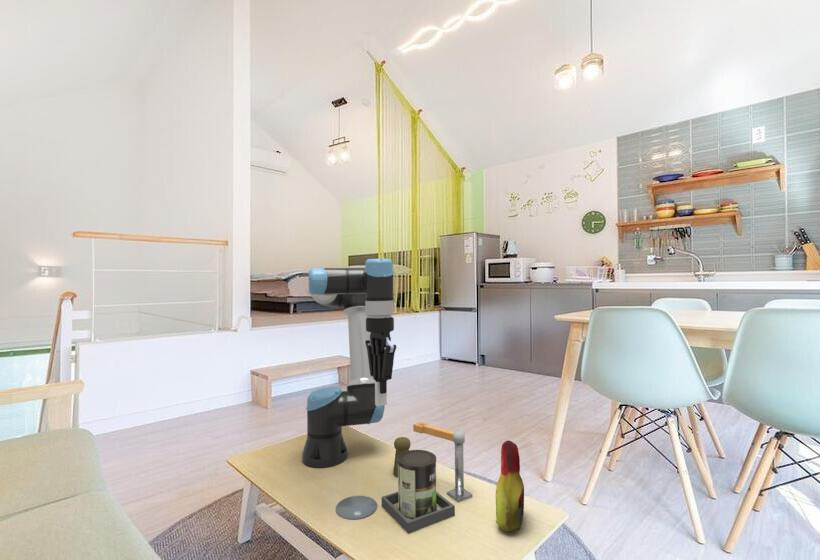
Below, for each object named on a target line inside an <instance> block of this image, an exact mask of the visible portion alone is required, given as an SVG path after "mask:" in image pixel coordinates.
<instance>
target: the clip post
mask: <svg viewBox="0 0 820 560" xmlns="http://www.w3.org/2000/svg"><path fill="white" fill-rule="evenodd" d="M464 465H465V464H464V443H462V444H456V443H454V481H455V483H454V484H455V485H454V486H455V487H454V488H453V489H451V490H447V491H446V495H448V496H449V497H450V498H452V500H454V501H456V502H457V503H460V502H463V501H465V500H468V499H471V498H473V494H472V493H471V492H470V491H468V490H467V489H465V486H464V485H465V484H464V483H465V477H464V475H465V474H464V473H465V471H464V470H465V467H464Z"/></svg>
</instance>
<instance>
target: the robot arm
mask: <svg viewBox="0 0 820 560" xmlns="http://www.w3.org/2000/svg"><path fill="white" fill-rule="evenodd" d="M364 265H365V266H364V267H342V268H341V267H338V268H337V267H335V268H334V267H316V268H315V267H313V268H310V269H309V270H308V293H309V294H310V296H311V298H312V299H313V301H315V302H316V303H318V304H319V305H322V306H325V307H329V308H343V313H344V314H345V315H346V316H347V323H348V324H347V326H348V345H349V346H348V347H349V366H350V367H349V369H350V371H349V372H350V381H349V383H348V384H347V385H346V390H342V388H341V387H339V386H328V387H322V388H319V389H316V390H313V391H312V392H311V393H309V395H307V398H306V399H307V400H306V409H305V410H306V411H307V412H306V413H307V414H306V417H307V418H306V421H307V422H306V423H307V425H306V426H307V428H306V430H307V431H306V432H307V433H306V434H307V435H306V436H307V437H306V440H305V442H304V446H303V450H302V453H301V455H302V458H301V461H302V463H303V464H304V465H305V464H306V465H305V466H307V465H308V466H307V467H310V466H311V467H310V468H319V467H322V468H328V467H333V466H334V467H335V466H336V465H339V464H342V463H344V461H345V460H347V458H348V448H347V445H346V442H345V440H344V436H343V434H342V433H343V429H342V428H343V427H348V426H350V427H351V426H360V425H370V424H375V423H379V422H381V421H382V419H383V417H384V414H385V406H386V405H388V404H387V403H388V401H387V400H388V399H387V397H388V396H387V390H388V388H387V385H388V384H387V383H388V381H389V380H392V378H393V369H394V362H395V361H394V360H395V354H396V350H397V345H396V344H393V343H392V342H391V341H392V338H391V332H393V331H394V330H395V318H394V317H393V316H394V314H395V311H394V310H395V309H394V307H395V304H394V274H395V272H394V262H393V260H392V259H389V258H368V259H366V261H365V263H364ZM319 469H320V468H319Z"/></svg>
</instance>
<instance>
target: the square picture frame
mask: <svg viewBox="0 0 820 560" xmlns="http://www.w3.org/2000/svg"><path fill="white" fill-rule="evenodd" d="M394 504H399V503H398V491H395V492H392V493H390V494H386V495H383V496H381V507H382V508H383V509H384V511H386V512H387V514H389V515H390V517H391V518H393V520H394V521H395V522H396V523H397V524H398V525H399V526H400V527H401V528H402V529H403V530H404V531H405V532H406V534H408V535H409V534H410V533H413V532H416V531H420V530H421V529H424V528H426V527H429V526H432V525H435V524H437V523H440V522H442V521H444V520H447V519H450V518H452V517H455V516H456V512H455V511H456V508H455V507H456V506H455V504H453V503H452V502H451V501H449V500H448V499H446V498H445V497H444V496H443V495H441V493H439V492H438V491H436V504H437V506H439V507H440V509H437V510H436V511H434V512H431V513H428V514H426V515H423V516H420V517H417V518H415V519H412V520H408V519H407V518H406V517H405V516H404V515H403V514H402V513H401V512H400V511H399V510H398V509H399V508H397V506H395V505H394Z"/></svg>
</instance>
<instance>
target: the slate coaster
mask: <svg viewBox="0 0 820 560" xmlns="http://www.w3.org/2000/svg"><path fill="white" fill-rule="evenodd" d="M377 508H378V503H377V501H376V500H375V499H374V498H372V497H370V496H367V495H352V496H348V497H346V498H343V499H341V500H340V501H339V502H337V504H336V505H335V512H336V513H335V514H336V515H337V516H338V517H340V518H342V519H346V520H351V521H352V520H353V521H354V520H362V519H365V518H368V517H369V516H372V515H373V514H375V512H376V511H377Z"/></svg>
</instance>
